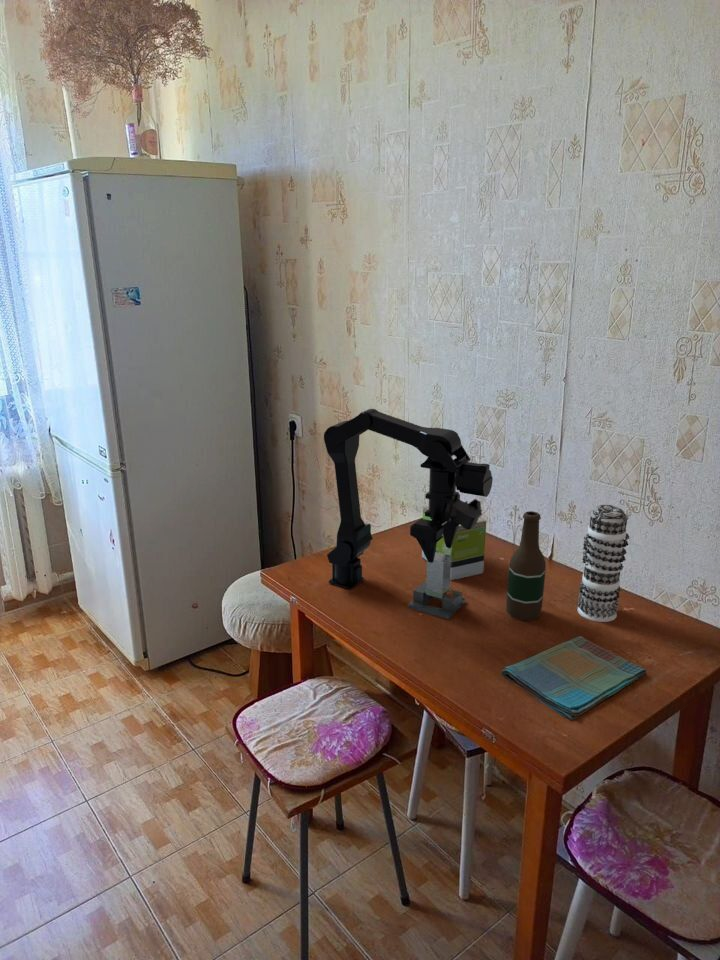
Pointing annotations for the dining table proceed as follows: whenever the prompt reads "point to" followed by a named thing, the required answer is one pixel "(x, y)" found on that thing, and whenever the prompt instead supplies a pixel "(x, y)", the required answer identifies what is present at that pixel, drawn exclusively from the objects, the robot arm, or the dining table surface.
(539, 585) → the beer bottle
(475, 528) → the tea box
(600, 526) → the decorative candle
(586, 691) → the dish towel
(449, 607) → the grey square frame
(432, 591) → the grey rectangular block
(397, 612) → the dining table surface
